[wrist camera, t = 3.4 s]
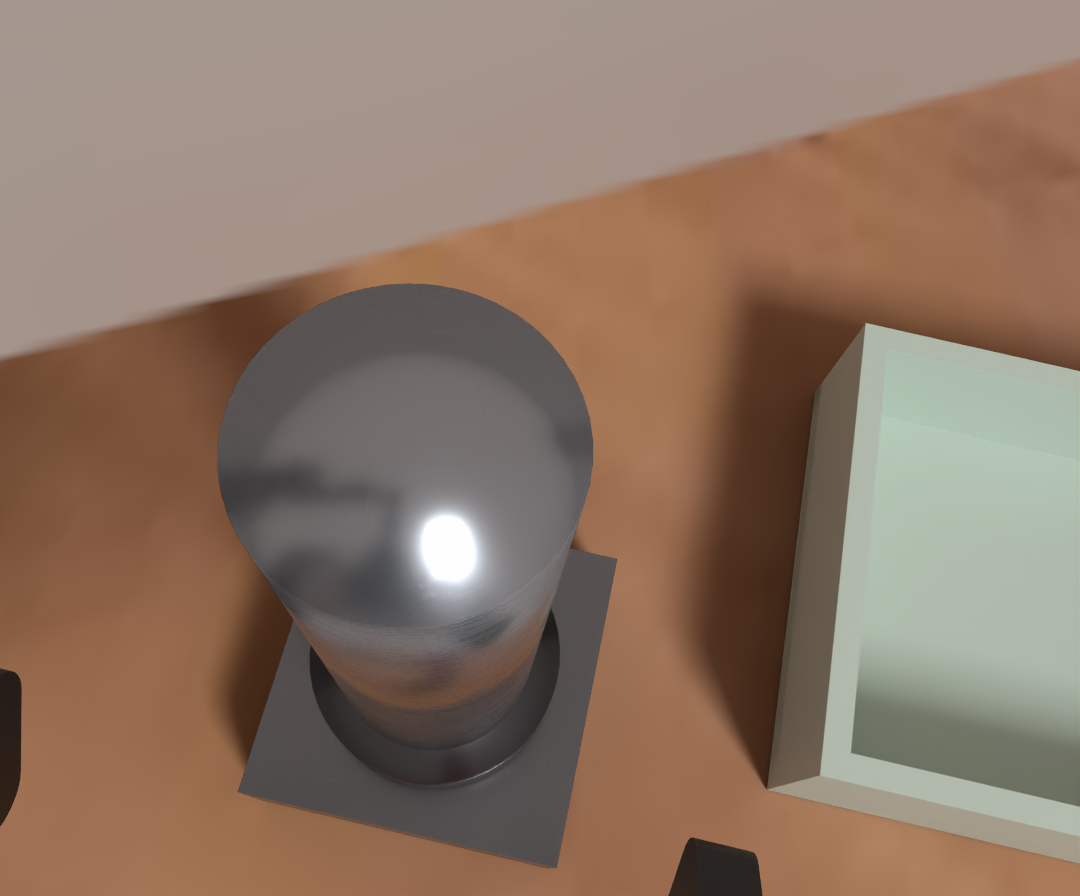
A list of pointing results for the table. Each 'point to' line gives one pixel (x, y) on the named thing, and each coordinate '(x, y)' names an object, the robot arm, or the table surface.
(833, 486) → the bin
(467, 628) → the silver domed cylinder
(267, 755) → the stud block
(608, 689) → the table surface
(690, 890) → the robot arm
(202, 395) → the table surface
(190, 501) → the table surface
